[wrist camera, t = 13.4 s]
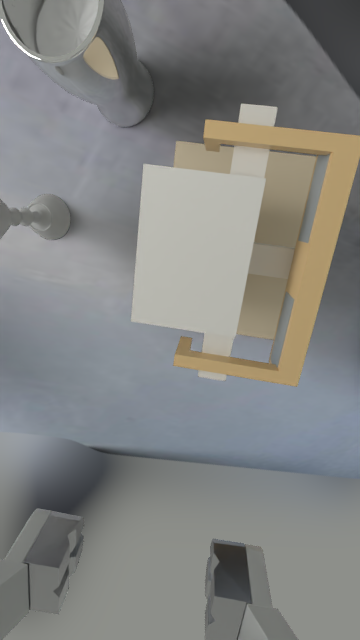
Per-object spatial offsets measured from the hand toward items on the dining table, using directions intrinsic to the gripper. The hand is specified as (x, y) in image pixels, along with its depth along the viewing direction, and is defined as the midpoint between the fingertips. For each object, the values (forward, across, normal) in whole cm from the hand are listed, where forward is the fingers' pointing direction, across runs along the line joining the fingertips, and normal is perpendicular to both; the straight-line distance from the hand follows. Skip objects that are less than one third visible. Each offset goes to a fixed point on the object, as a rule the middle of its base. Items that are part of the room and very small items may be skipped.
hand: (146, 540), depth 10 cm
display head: (+29, -3, -8) cm, 30 cm away
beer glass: (+30, +10, -21) cm, 38 cm away
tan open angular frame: (+19, -4, -7) cm, 21 cm away
